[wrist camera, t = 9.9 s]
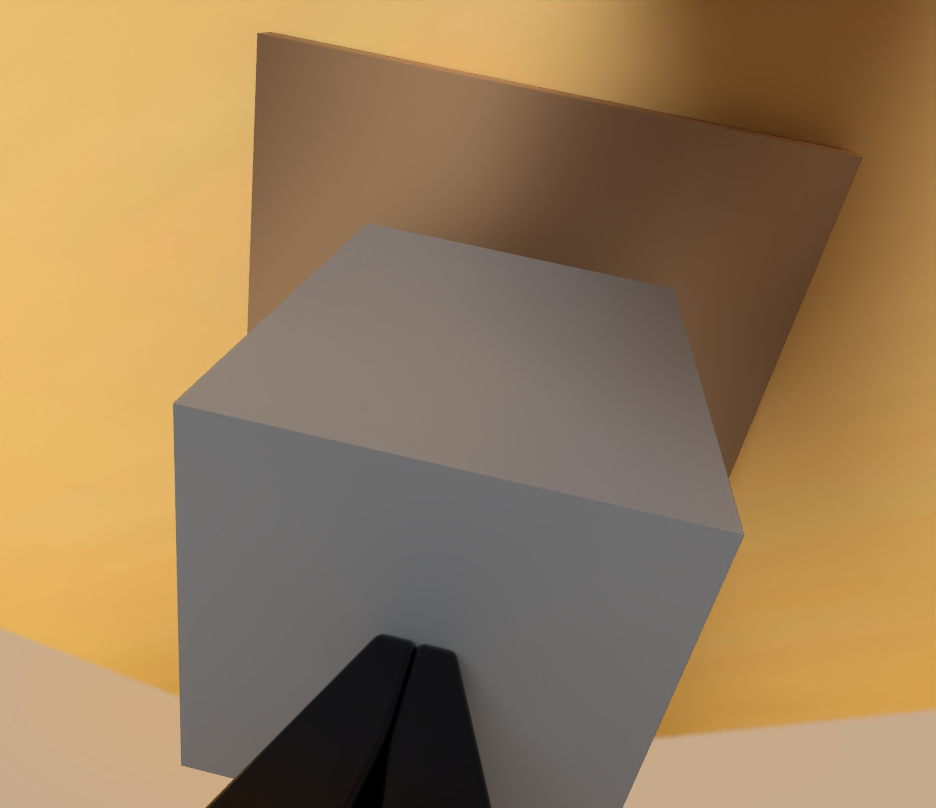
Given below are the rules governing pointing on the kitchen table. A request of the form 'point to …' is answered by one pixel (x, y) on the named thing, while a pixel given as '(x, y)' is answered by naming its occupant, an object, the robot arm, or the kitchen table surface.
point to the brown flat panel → (544, 195)
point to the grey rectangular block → (453, 508)
